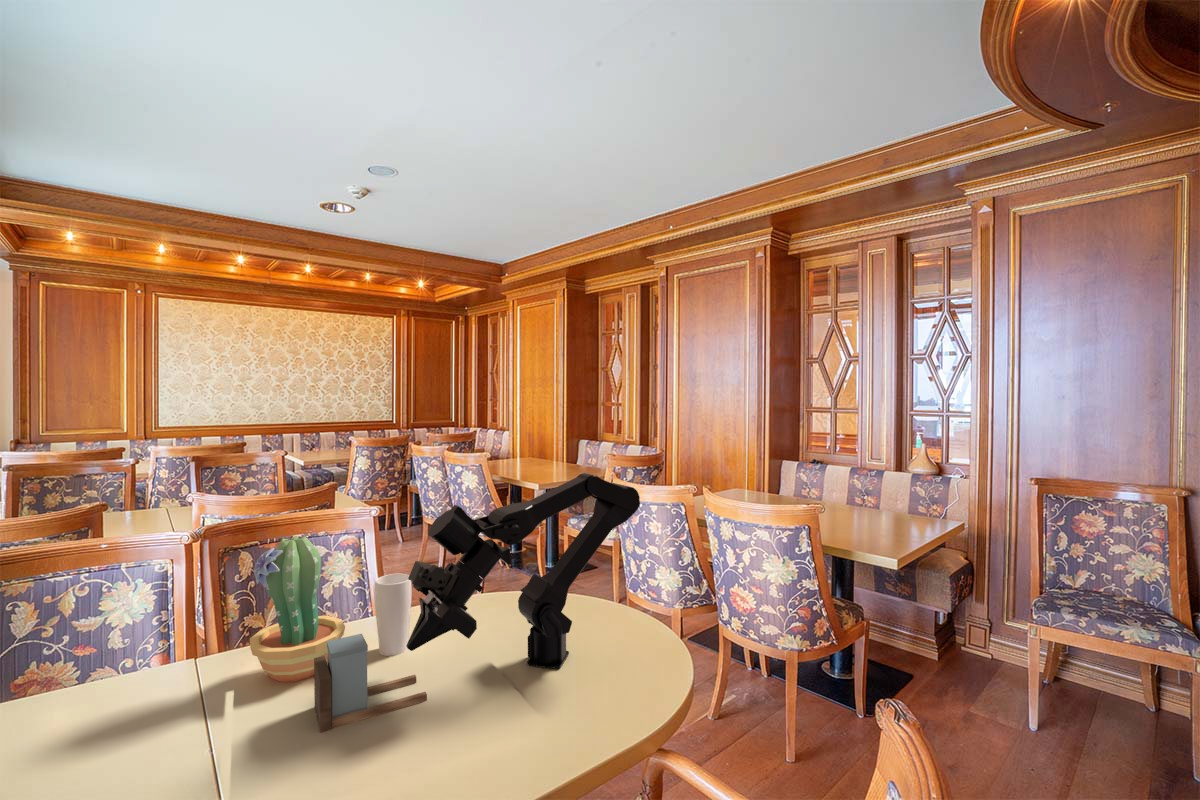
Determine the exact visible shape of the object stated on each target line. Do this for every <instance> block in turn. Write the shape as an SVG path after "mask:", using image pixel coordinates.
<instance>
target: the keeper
mask: <svg viewBox="0 0 1200 800" xmlns="http://www.w3.org/2000/svg"><path fill="white" fill-rule="evenodd" d="M327 648H328V663H327V665H328V668H329V671H330V674H331V677H332V718H334V717H338V716H341V715H345V714H348V713H352V712H355V711H359V710H362V709H366V708H369V705H368V704H369V703H368V696H367V687H368V651H369V650H368V649H369V645H368V643H367V641H366V640H365V637H364V635H363V633H358V634H354V635H349V636H345V637H341V638H339V639H334V640H330V641H327Z"/></svg>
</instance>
